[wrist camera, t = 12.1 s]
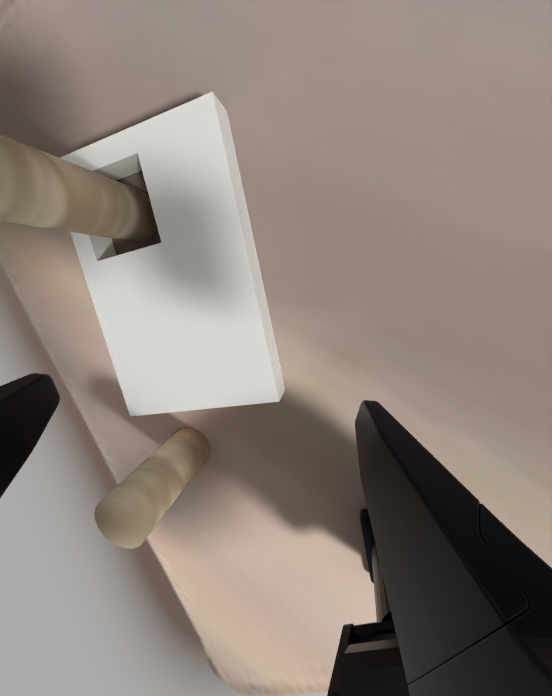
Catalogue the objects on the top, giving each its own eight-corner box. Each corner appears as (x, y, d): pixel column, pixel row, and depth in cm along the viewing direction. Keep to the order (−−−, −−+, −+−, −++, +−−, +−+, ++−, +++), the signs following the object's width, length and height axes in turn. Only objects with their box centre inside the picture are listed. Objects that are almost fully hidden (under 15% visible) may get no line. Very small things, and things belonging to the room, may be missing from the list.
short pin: (214, 463, 24) (152, 549, 17) (178, 465, 25) (105, 547, 18) (203, 426, 24) (135, 498, 16) (168, 429, 24) (86, 498, 17)
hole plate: (285, 390, 21) (279, 401, 19) (147, 405, 24) (130, 416, 22) (226, 111, 18) (212, 91, 16) (75, 172, 21) (47, 162, 19)
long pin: (168, 219, 20) (-178, 113, 7) (138, 252, 21) (-208, 216, 8) (136, 178, 20) (-278, -8, 7) (108, 214, 21) (-294, 114, 8)
